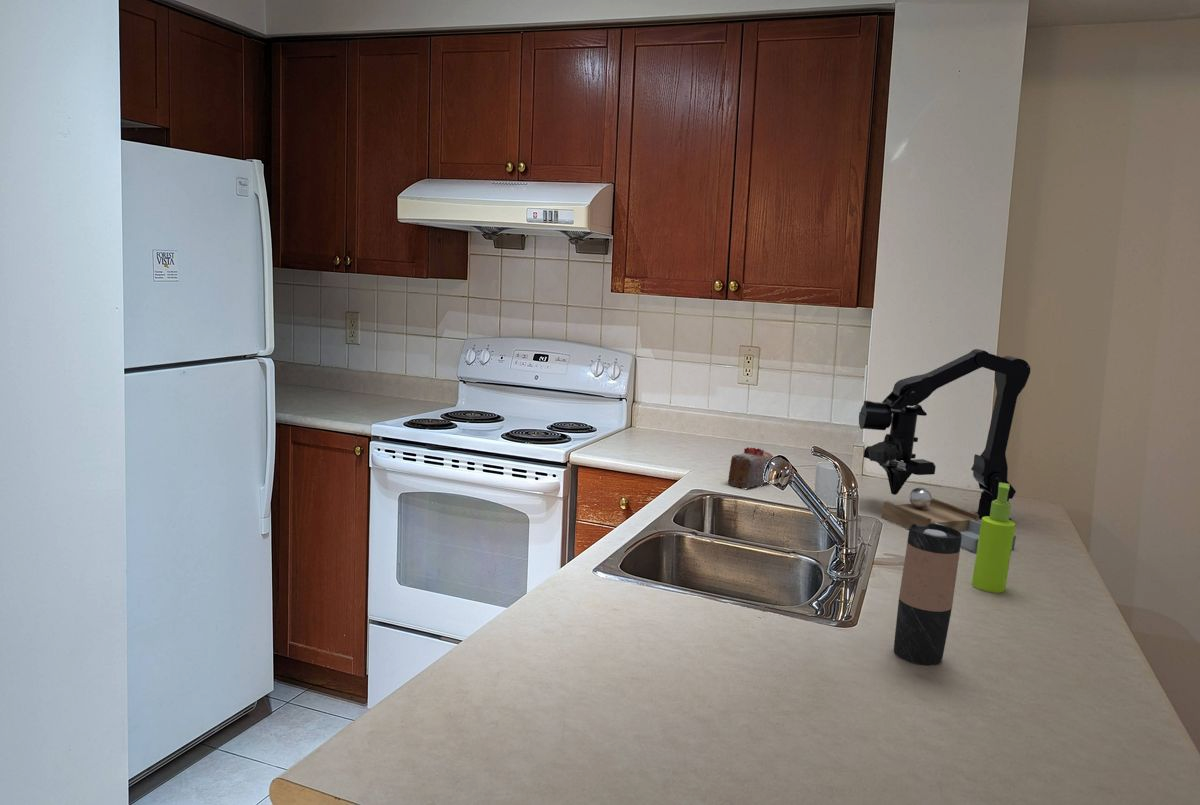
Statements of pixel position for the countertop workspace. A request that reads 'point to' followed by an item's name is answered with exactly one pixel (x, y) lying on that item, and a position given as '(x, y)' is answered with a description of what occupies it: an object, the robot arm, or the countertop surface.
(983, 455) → the robot arm
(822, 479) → the white cup
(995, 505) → the soap dispenser
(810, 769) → the countertop surface
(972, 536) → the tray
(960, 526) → the deck
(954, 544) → the travel mug
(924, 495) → the ball
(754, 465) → the food item
